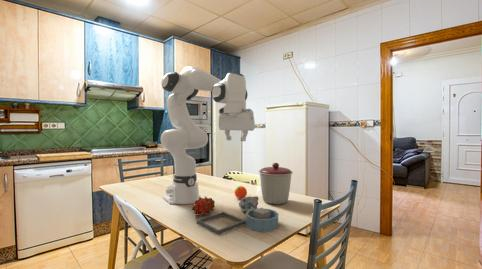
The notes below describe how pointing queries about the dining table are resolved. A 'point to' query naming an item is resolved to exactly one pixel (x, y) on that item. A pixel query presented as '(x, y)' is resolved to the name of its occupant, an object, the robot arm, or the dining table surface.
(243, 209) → the mineral specimen
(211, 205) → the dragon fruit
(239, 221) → the tray
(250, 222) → the bowl
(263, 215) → the pebble block
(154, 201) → the dining table surface
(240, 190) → the clementine
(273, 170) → the canister
